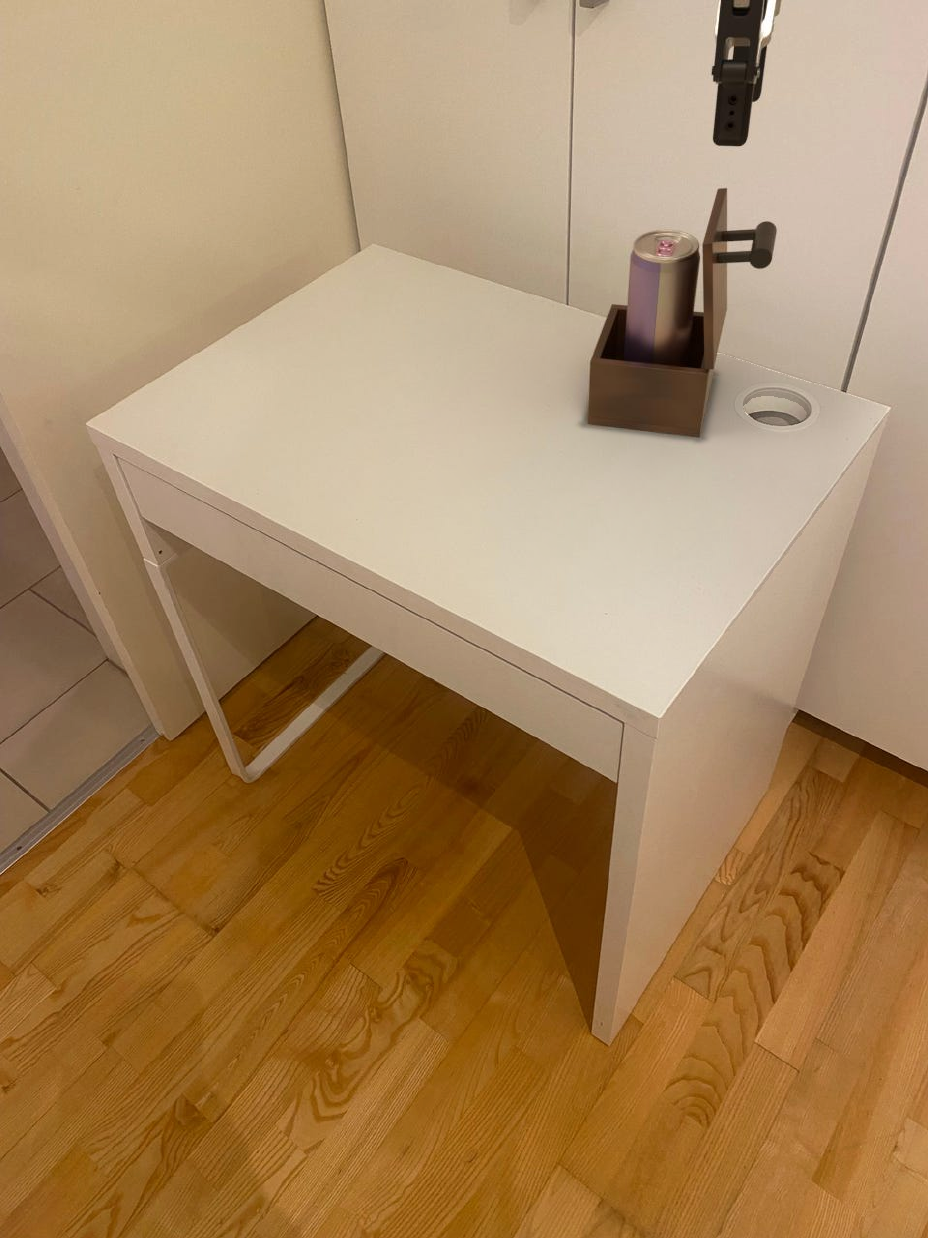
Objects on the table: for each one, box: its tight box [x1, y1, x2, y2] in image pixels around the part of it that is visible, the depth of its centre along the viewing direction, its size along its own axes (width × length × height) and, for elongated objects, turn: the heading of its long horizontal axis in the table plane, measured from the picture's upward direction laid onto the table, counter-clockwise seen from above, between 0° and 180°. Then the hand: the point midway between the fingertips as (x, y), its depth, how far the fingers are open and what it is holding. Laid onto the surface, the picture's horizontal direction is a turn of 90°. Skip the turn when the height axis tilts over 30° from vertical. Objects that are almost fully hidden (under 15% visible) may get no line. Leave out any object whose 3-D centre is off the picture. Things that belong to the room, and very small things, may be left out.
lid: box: [701, 187, 778, 370], centre depth 83 cm, size 11×11×5 cm
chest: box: [587, 303, 715, 438], centre depth 91 cm, size 11×11×7 cm
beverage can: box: [624, 229, 701, 367], centre depth 88 cm, size 6×6×15 cm
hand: (737, 120), depth 66 cm, fingers open, 8 cm apart
